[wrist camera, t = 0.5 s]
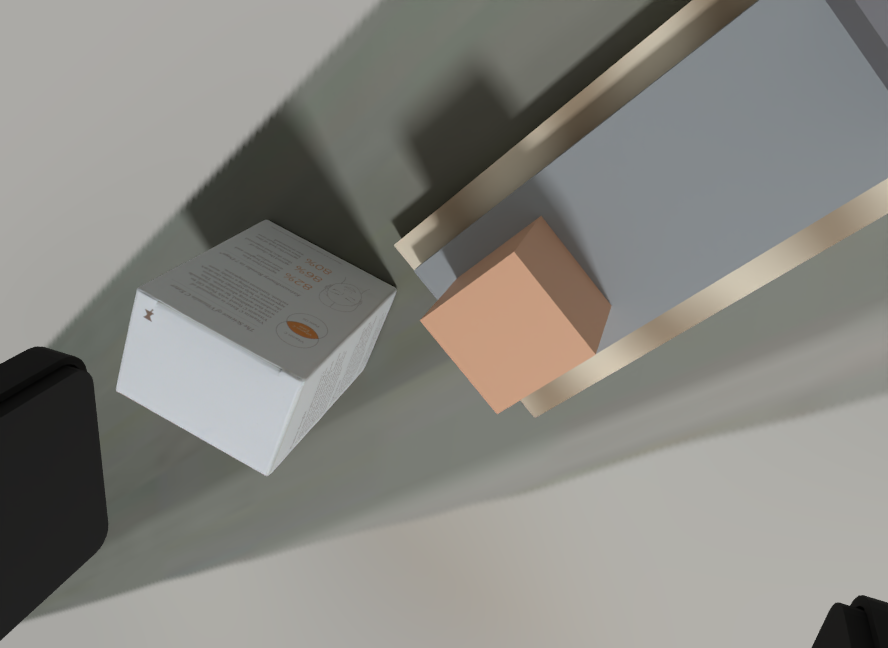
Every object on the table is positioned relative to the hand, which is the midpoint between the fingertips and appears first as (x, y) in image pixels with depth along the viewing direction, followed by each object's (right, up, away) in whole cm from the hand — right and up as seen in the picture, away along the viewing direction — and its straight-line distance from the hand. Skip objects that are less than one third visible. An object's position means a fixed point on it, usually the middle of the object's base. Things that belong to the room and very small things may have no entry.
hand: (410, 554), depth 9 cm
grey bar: (+10, +8, +22) cm, 25 cm away
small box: (-6, +4, +31) cm, 32 cm away
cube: (+4, +4, +25) cm, 25 cm away
